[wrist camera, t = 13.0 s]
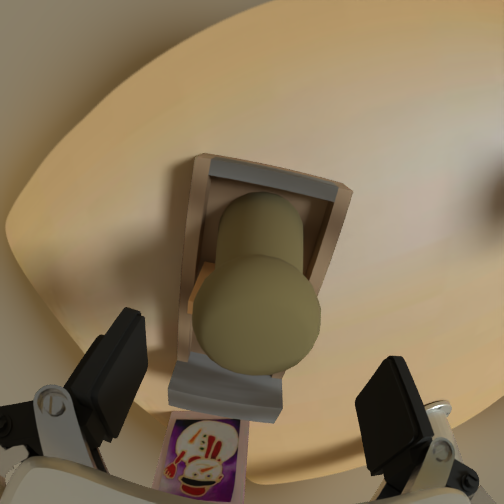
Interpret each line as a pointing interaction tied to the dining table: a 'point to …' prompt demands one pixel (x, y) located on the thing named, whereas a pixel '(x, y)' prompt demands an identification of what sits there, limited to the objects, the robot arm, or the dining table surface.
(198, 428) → the greeting card
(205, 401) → the lane
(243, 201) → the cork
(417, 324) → the dining table surface
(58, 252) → the dining table surface
